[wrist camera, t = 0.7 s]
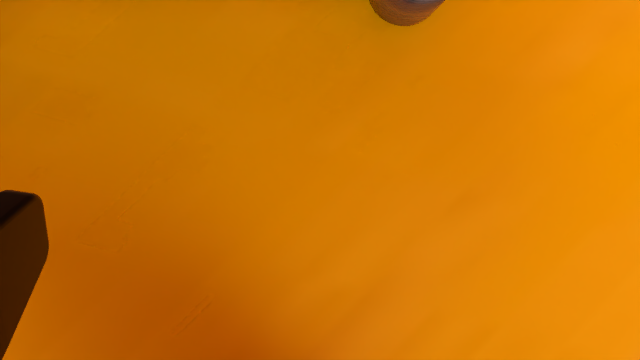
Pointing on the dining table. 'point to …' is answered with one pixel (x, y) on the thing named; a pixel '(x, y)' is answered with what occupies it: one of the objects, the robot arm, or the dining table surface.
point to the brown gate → (405, 10)
